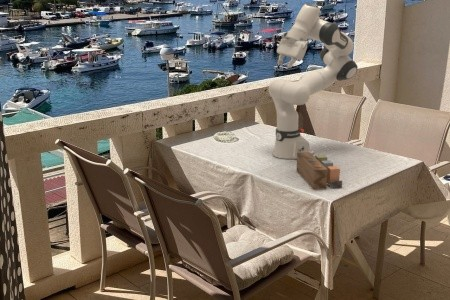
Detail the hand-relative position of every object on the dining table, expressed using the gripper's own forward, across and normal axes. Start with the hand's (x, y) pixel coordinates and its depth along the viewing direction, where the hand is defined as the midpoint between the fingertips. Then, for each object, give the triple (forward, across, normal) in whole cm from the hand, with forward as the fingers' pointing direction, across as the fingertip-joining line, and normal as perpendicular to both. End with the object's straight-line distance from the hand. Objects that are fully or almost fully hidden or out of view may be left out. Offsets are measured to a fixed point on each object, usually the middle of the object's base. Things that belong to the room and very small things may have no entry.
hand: (283, 65), depth 263 cm
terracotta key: (+39, -25, -36) cm, 58 cm away
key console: (+40, -15, -33) cm, 54 cm away
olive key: (+37, -8, -39) cm, 54 cm away
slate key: (+38, -16, -37) cm, 56 cm away
